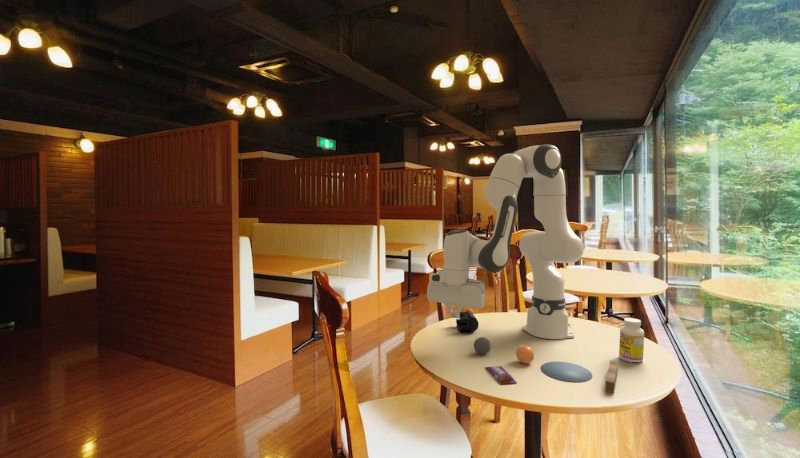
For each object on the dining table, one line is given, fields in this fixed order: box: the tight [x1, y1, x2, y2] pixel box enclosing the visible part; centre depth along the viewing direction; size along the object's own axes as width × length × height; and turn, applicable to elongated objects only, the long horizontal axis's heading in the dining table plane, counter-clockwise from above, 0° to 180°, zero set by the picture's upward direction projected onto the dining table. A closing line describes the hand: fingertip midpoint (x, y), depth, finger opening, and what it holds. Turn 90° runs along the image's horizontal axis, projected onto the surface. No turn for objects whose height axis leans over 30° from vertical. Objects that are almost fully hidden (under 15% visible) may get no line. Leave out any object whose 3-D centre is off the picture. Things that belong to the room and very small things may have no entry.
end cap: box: [455, 309, 480, 335], centre depth 156 cm, size 10×7×7 cm
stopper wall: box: [604, 360, 619, 394], centre depth 111 cm, size 16×2×3 cm, turn 148°
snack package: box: [485, 365, 518, 385], centre depth 114 cm, size 12×2×5 cm
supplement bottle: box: [618, 317, 645, 363], centre depth 126 cm, size 7×7×13 cm
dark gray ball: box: [473, 336, 492, 356], centre depth 131 cm, size 6×6×6 cm
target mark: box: [540, 361, 593, 383], centre depth 117 cm, size 14×14×1 cm
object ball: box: [515, 344, 535, 365], centre depth 123 cm, size 6×6×6 cm
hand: (454, 317), depth 135 cm, fingers closed
